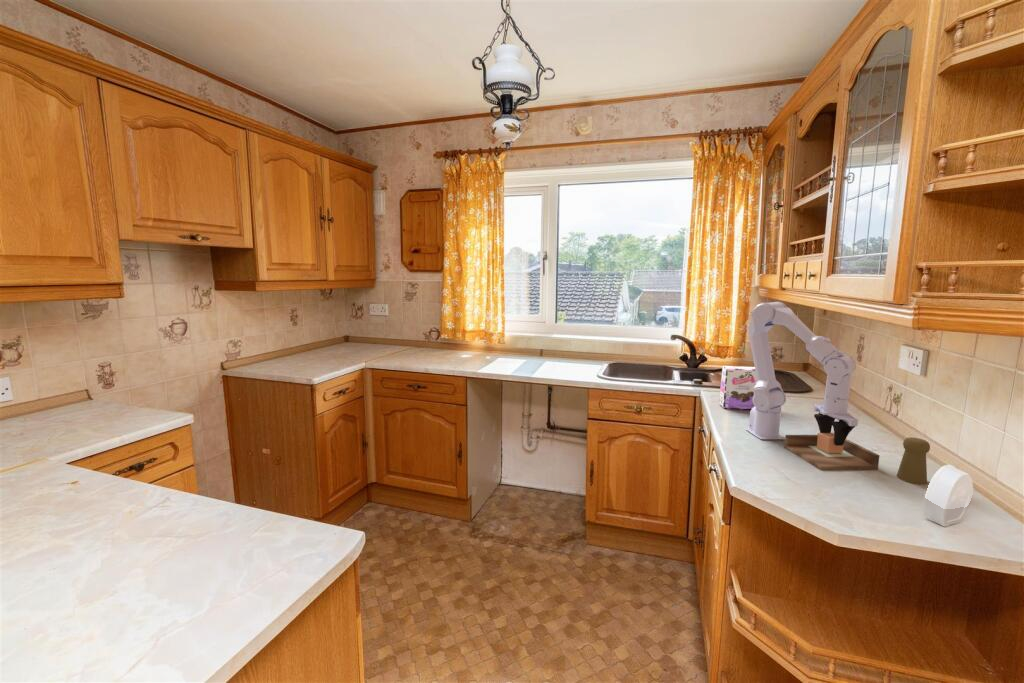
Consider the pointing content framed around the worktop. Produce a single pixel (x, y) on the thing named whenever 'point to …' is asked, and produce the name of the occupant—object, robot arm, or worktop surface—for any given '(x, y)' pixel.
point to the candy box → (737, 387)
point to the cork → (914, 461)
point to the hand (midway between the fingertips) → (831, 441)
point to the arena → (831, 454)
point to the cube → (828, 443)
